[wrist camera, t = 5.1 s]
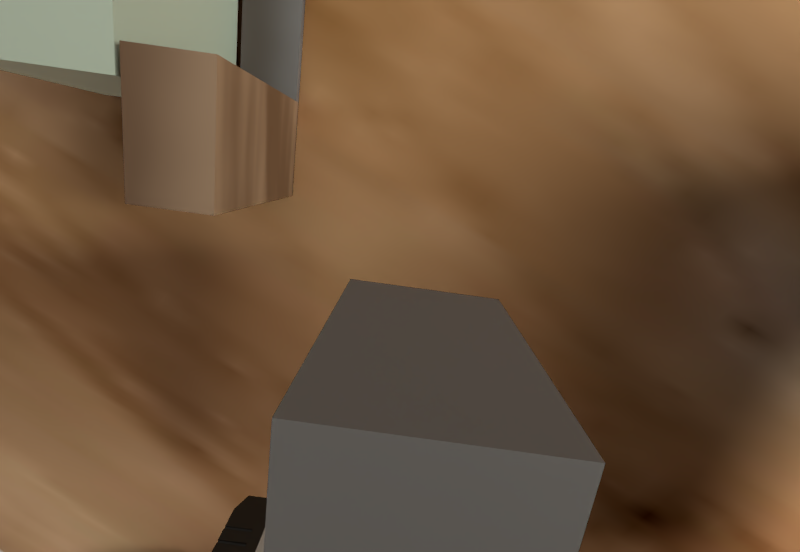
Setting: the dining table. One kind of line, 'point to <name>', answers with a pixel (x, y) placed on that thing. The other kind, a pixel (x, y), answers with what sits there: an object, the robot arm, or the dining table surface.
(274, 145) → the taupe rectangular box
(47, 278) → the dining table surface
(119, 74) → the pale green box
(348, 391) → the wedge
